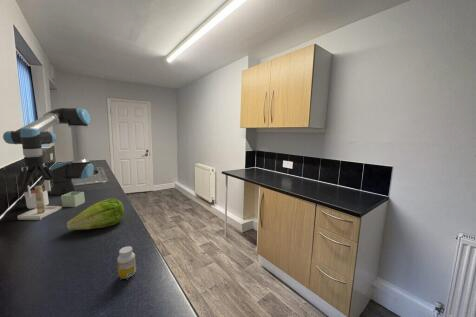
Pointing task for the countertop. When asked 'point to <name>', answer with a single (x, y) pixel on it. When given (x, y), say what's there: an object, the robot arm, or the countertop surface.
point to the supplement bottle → (126, 262)
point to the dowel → (39, 199)
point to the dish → (35, 216)
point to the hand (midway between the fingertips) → (38, 193)
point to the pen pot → (72, 199)
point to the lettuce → (98, 215)
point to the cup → (32, 200)
